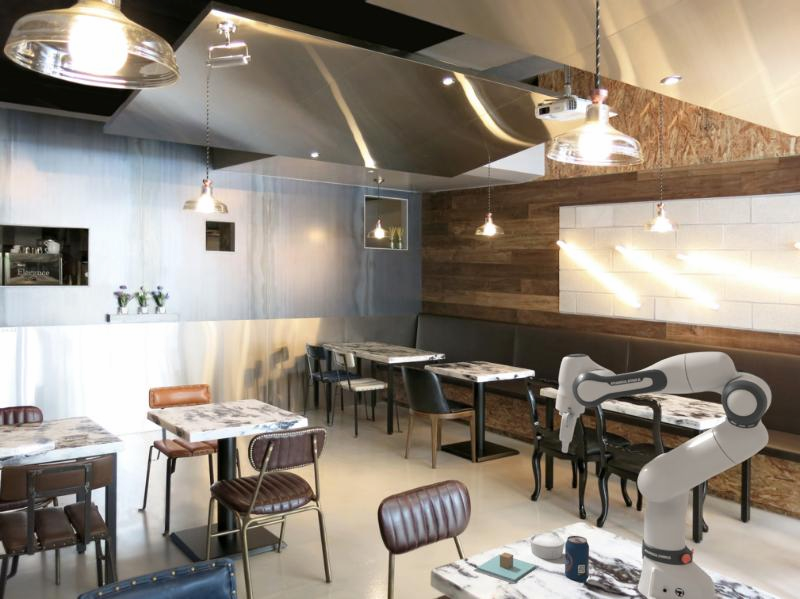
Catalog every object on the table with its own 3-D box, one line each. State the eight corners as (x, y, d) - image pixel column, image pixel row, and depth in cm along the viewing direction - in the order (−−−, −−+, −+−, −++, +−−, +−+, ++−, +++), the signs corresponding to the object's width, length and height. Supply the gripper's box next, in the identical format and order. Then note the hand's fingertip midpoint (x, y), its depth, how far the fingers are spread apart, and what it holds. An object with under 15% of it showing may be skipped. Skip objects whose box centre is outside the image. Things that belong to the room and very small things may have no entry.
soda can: (561, 574, 198) (561, 535, 198) (583, 573, 199) (583, 534, 198) (570, 584, 191) (570, 544, 191) (592, 583, 192) (592, 543, 192)
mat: (539, 568, 202) (539, 566, 202) (513, 586, 189) (513, 583, 189) (500, 556, 211) (500, 554, 211) (473, 572, 198) (473, 570, 198)
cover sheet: (535, 567, 201) (535, 554, 201) (514, 581, 191) (514, 567, 191) (499, 556, 209) (499, 543, 209) (477, 569, 199) (477, 556, 199)
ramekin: (529, 547, 219) (529, 532, 218) (563, 550, 216) (563, 534, 216) (529, 561, 208) (529, 544, 208) (565, 564, 205) (565, 547, 205)
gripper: (579, 414, 191) (574, 459, 192) (582, 399, 210) (577, 440, 212) (557, 410, 193) (552, 455, 194) (562, 396, 212) (558, 437, 213)
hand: (565, 447), depth 203 cm, fingers open, 8 cm apart
